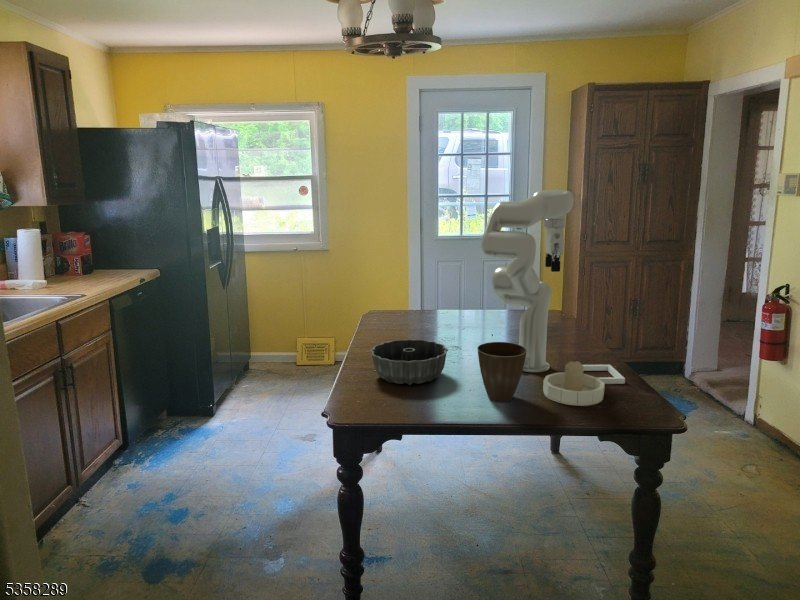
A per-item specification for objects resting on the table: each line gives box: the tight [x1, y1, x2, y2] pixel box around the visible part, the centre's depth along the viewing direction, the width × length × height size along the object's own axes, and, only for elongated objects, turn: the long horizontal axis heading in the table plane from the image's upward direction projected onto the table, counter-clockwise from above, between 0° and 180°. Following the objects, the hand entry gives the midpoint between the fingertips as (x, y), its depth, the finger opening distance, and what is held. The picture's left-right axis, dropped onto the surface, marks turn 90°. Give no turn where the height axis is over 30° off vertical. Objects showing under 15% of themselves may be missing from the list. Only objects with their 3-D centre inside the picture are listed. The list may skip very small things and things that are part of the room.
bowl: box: [542, 371, 606, 407], centre depth 184 cm, size 18×18×4 cm
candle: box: [564, 360, 585, 391], centre depth 183 cm, size 6×6×10 cm
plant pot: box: [477, 341, 527, 403], centre depth 180 cm, size 15×15×16 cm
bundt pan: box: [369, 338, 449, 386], centre depth 201 cm, size 26×26×10 cm
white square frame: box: [582, 364, 626, 385], centre depth 200 cm, size 14×14×2 cm
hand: (552, 269), depth 220 cm, fingers open, 9 cm apart
